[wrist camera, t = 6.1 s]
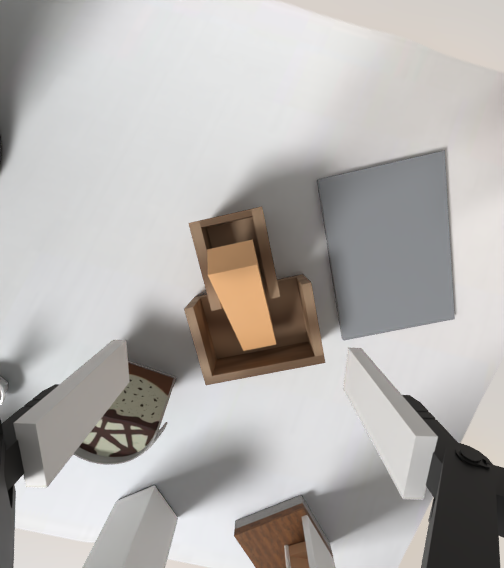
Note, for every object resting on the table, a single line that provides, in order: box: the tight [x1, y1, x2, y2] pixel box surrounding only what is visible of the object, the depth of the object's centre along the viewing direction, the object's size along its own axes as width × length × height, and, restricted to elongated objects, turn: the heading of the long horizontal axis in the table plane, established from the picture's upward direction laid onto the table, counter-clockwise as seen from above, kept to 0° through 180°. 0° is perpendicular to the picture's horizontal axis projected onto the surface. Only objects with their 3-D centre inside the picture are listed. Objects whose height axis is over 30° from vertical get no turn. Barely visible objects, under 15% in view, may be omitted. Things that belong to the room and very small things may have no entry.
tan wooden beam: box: [207, 240, 276, 351], centre depth 27 cm, size 14×4×3 cm
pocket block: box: [184, 207, 325, 385], centre depth 29 cm, size 18×14×8 cm
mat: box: [317, 150, 455, 340], centre depth 32 cm, size 20×14×1 cm
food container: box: [73, 361, 176, 465], centre depth 32 cm, size 12×6×10 cm, turn 69°
